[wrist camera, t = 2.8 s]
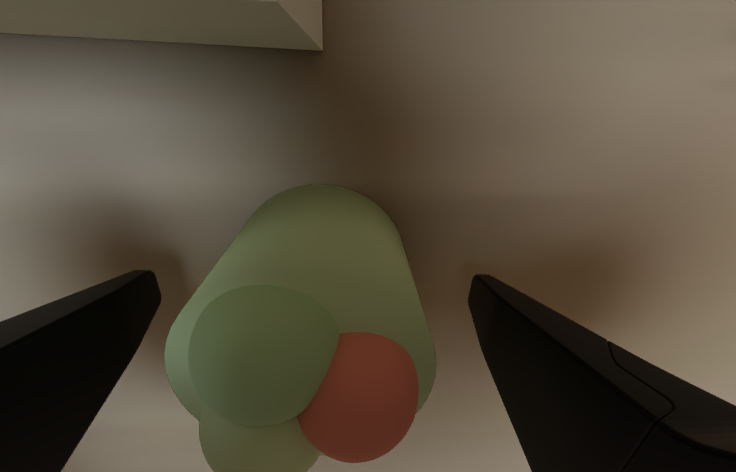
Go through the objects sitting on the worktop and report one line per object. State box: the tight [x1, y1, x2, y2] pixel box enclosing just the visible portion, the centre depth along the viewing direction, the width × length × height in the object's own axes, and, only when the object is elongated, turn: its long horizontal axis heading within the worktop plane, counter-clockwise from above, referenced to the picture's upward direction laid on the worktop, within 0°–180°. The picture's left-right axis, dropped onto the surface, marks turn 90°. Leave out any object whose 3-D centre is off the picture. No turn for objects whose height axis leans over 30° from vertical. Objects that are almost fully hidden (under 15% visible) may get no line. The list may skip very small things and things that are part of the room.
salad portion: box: [165, 184, 436, 472], centre depth 8 cm, size 5×5×6 cm
